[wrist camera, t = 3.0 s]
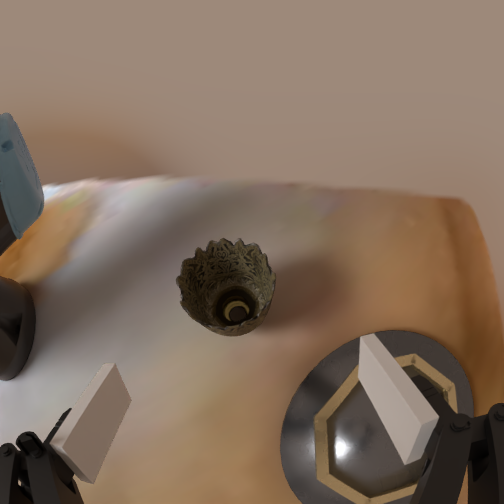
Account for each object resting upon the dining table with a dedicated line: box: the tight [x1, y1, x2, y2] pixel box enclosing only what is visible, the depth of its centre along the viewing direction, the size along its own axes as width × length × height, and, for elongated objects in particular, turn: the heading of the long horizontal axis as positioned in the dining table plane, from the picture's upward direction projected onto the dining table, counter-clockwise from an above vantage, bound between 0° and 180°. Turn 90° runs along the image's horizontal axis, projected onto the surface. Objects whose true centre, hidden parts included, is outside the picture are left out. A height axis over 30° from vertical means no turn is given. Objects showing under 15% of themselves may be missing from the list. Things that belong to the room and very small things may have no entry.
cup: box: [176, 238, 276, 336], centre depth 24 cm, size 8×7×8 cm
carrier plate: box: [280, 330, 474, 504], centre depth 19 cm, size 20×20×2 cm
